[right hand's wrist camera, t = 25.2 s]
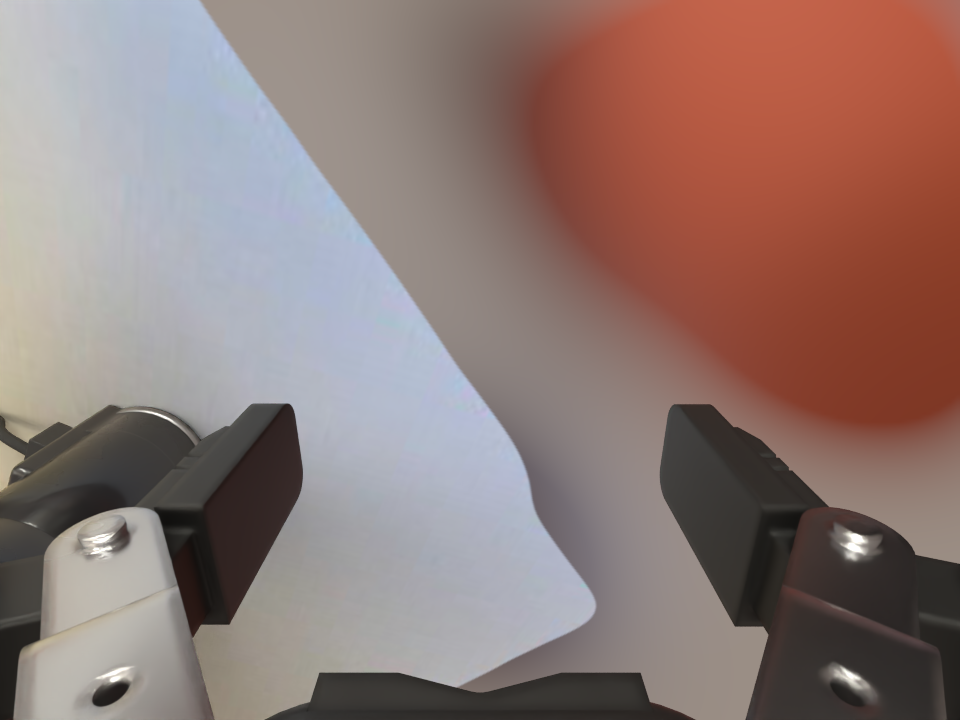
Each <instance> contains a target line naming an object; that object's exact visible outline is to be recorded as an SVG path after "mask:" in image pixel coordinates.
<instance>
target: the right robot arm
mask: <svg viewBox="0 0 960 720" xmlns="http://www.w3.org/2000/svg"><path fill="white" fill-rule="evenodd" d="M0 441H2V442H3V443H5V444H6V445H8V446H10V447H11V448H13V449H15V450H17V451H18V452H20V453H22V454H24V455H25V458H24V461H22V462H21V463H19V464H18V465H16V466H15V467H14V468H13V470H12V472H11V475H10V479H9V482H8V486H7V488H5V489H4V490H2V491H1V492H0V720H214V716H213V713H212V709H211V705H210V702H209V698H208V694H207V691H206V687H205V683H204V680H203V676H202V672H201V669H200V665H199V661H198V658H197V654H196V650H195V646H194V643H193V639H192V638H193V637H194V635H195V634H196V632H197V630H198V629H199V627H200V625H229V624H230V622H231V620H232V618H233V617H234V615H235V613H236V611H237V609H238V607H239V606H240V604H241V602H242V600H243V598H244V596H245V595H246V593H247V591H248V589H249V587H250V585H251V584H252V582H253V580H254V578H255V576H256V574H257V573H258V571H259V569H260V567H261V565H262V563H263V562H264V560H265V558H266V556H267V554H268V552H269V551H270V549H271V547H272V545H273V543H274V541H275V540H276V538H277V536H278V534H279V532H280V530H281V529H282V527H283V525H284V523H285V521H286V519H287V517H288V516H289V514H290V512H291V510H292V508H293V506H294V505H295V503H296V501H297V499H298V497H299V495H300V491H301V487H302V480H303V468H302V460H301V453H300V446H299V439H298V432H297V426H296V419H295V413H294V410H293V408H292V406H291V405H290V404H251V405H250V406H249V407H248V408H247V409H246V410H245V411H244V412H243V413H242V414H241V415H240V416H239V417H238V418H237V420H236V421H235V422H234V423H233V424H232V425H231V426H225V427H223V428H222V429H220V430H218V431H216V432H214V433H213V434H211V435H209V436H207V437H205V438H204V439H202V440H201V441H200V439H199V438H198V436H197V435H196V434H195V432H194V431H193V430H192V429H191V428H190V427H189V426H188V425H186V424H185V423H184V422H183V421H181V420H180V419H178V418H177V417H175V416H173V415H171V414H169V413H167V412H164V411H162V410H159V409H155V408H150V407H129V408H125V409H120V408H117V407H115V406H112V405H108V406H107V407H105V408H104V409H102V410H101V411H99V412H98V413H96V414H94V415H93V416H91V417H90V418H88V419H87V420H85V421H84V422H82V423H81V424H79V425H78V426H76V427H74V428H72V427H69V426H67V425H65V424H62V423H60V422H57V423H56V424H54V425H53V426H51V427H49V428H48V429H46V430H44V431H43V432H41V433H40V434H38V435H36V436H35V437H33V438H31V439H30V440H29V443H26V442H25V441H23V440H21V439H19V438H18V437H16V436H14V435H13V434H11V433H10V432H9V431H8V430H7V429H6V428H5V419H4V418H3V417H1V416H0ZM660 484H661V489H662V493H663V496H664V499H665V501H666V502H667V504H668V506H669V508H670V509H671V511H672V513H673V515H674V517H675V519H676V520H677V522H678V524H679V526H680V528H681V530H682V531H683V533H684V535H685V537H686V539H687V540H688V542H689V544H690V546H691V548H692V549H693V551H694V553H695V555H696V557H697V559H698V560H699V562H700V564H701V566H702V568H703V569H704V571H705V573H706V575H707V577H708V579H709V580H710V582H711V584H712V586H713V588H714V589H715V591H716V593H717V595H718V597H719V598H720V600H721V602H722V604H723V606H724V608H725V609H726V611H727V613H728V615H729V617H730V618H731V620H732V622H733V624H734V626H764V628H765V630H766V631H767V633H768V639H767V643H766V647H765V650H764V654H763V658H762V661H761V665H760V669H759V672H758V676H757V680H756V683H755V687H754V691H753V694H752V698H751V702H750V705H749V709H748V713H747V716H746V720H960V564H957V563H952V562H947V561H942V560H937V559H933V558H928V557H922V556H918V555H915V552H914V550H913V548H912V546H911V545H910V544H909V543H908V542H907V541H906V540H905V539H904V538H903V537H902V536H901V535H900V534H898V533H897V532H896V531H894V530H893V529H891V528H890V527H888V526H887V525H885V524H883V523H881V522H879V521H877V520H875V519H873V518H870V517H868V516H866V515H863V514H860V513H857V512H853V511H850V510H845V509H840V508H832V507H829V506H828V505H827V504H825V502H823V501H822V500H821V499H820V498H819V497H818V496H817V495H816V494H815V493H814V492H813V491H812V490H811V489H810V488H809V487H808V486H807V485H806V484H805V483H804V482H803V481H802V480H801V479H800V478H799V477H798V476H797V475H796V474H795V473H794V472H793V471H789V467H788V466H787V465H786V464H785V463H784V462H783V461H782V460H781V459H780V458H776V454H775V453H774V452H773V451H772V450H770V448H769V447H768V446H766V445H765V444H764V443H763V442H762V441H761V440H760V439H758V438H756V437H755V436H753V435H751V434H749V433H747V432H746V431H744V430H742V429H740V428H738V427H733V426H732V425H731V424H730V423H729V422H728V421H727V420H726V419H725V418H724V417H723V416H722V415H721V414H720V413H719V412H718V411H717V410H716V409H715V408H714V407H713V406H712V405H710V404H674V405H673V406H672V407H671V408H670V410H669V413H668V418H667V425H666V432H665V439H664V446H663V452H662V459H661V466H660ZM265 720H695V719H693V718H691V717H689V716H687V715H685V714H683V713H680V712H678V711H675V710H673V709H670V708H667V707H664V706H662V705H659V704H655V703H651V702H649V698H648V695H647V692H646V689H645V686H644V682H643V679H642V676H641V673H559V674H555V675H551V676H547V677H544V678H540V679H536V680H532V681H528V682H524V683H520V684H517V685H513V686H509V687H505V688H501V689H497V690H493V691H489V692H484V693H476V692H471V691H467V690H463V689H459V688H455V687H451V686H447V685H444V684H440V683H436V682H432V681H428V680H424V679H420V678H417V677H413V676H409V675H405V674H401V673H319V676H318V679H317V682H316V686H315V689H314V692H313V695H312V698H311V701H310V702H309V703H305V704H301V705H298V706H296V707H293V708H290V709H287V710H285V711H282V712H279V713H277V714H275V715H273V716H271V717H269V718H267V719H265Z"/></svg>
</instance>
